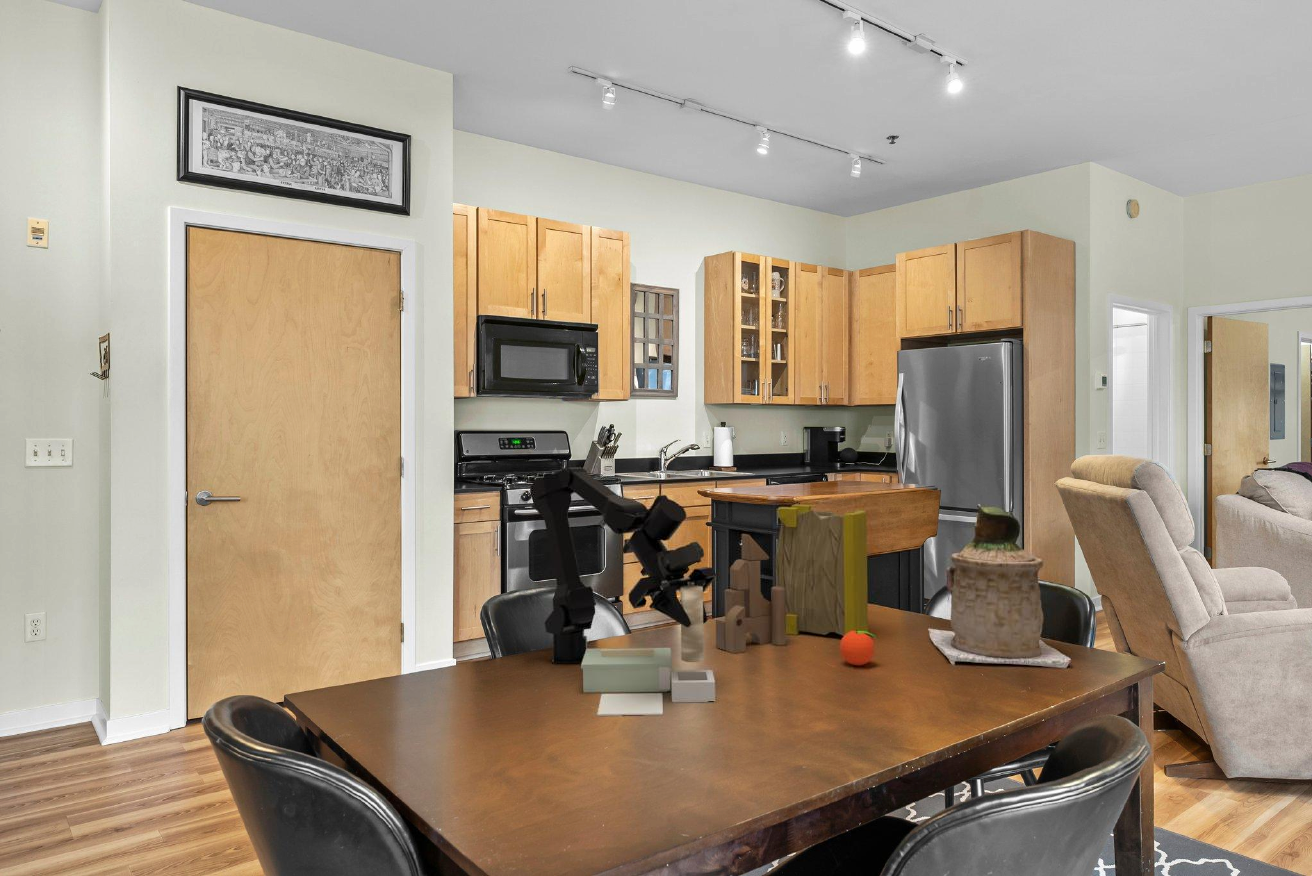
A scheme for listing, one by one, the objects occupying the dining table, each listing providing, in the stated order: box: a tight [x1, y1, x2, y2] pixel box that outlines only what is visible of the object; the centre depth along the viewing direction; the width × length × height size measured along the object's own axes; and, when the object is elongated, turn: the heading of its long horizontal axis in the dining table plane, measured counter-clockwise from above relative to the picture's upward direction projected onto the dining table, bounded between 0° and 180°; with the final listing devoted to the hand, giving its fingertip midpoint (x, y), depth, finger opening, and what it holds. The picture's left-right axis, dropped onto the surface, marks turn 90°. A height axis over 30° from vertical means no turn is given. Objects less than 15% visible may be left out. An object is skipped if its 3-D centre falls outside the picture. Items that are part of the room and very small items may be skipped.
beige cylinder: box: [680, 585, 704, 663], centre depth 148 cm, size 4×4×13 cm
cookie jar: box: [927, 503, 1072, 669], centre depth 176 cm, size 25×25×32 cm
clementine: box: [839, 630, 875, 667], centre depth 167 cm, size 8×7×7 cm
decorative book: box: [775, 504, 869, 637], centre depth 195 cm, size 20×11×30 cm, turn 58°
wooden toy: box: [715, 533, 787, 654], centre depth 183 cm, size 15×7×25 cm, turn 121°
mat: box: [596, 692, 664, 717], centre depth 143 cm, size 11×11×1 cm
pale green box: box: [580, 647, 716, 703], centre depth 153 cm, size 24×18×6 cm
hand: (697, 623), depth 147 cm, fingers closed on beige cylinder, 4 cm apart
